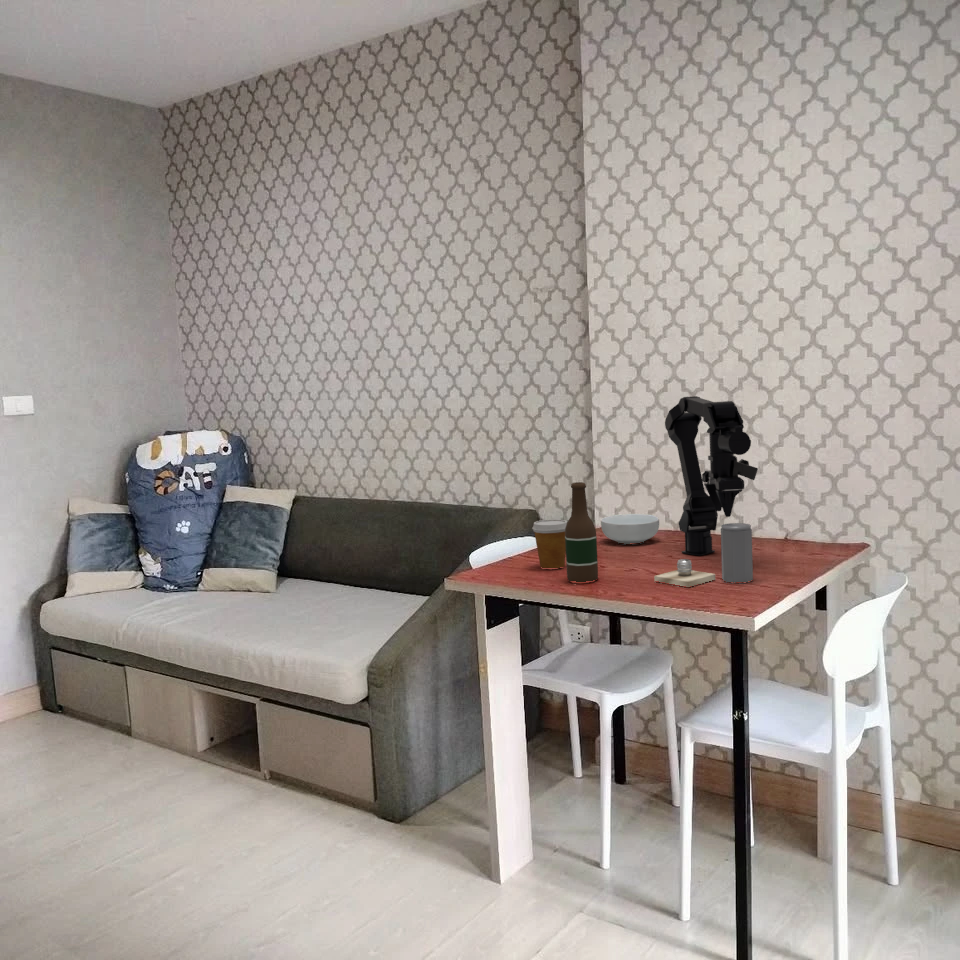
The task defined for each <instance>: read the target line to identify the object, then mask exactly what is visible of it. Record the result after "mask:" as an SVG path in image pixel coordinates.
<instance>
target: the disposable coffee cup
mask: <svg viewBox="0 0 960 960" xmlns="http://www.w3.org/2000/svg"><path fill="white" fill-rule="evenodd" d="M567 522H568V520H566V519H565V520H564V519H542V520H537V521H534V522H533V526H532V530H533V533H534V539H535V542H536V543H535V544H536V549H537V554H538V561H539V566H540V567H542V568H560V567H564V566H565V565H566V546H565V528H566V525H567ZM564 568H565V567H564Z"/></svg>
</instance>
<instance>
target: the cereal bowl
mask: <svg viewBox="0 0 960 960" xmlns="http://www.w3.org/2000/svg"><path fill="white" fill-rule="evenodd" d="M600 526H601V530H602V531H601V532H602V533H603V534H604V536H605V537H606V538H608V539H609V540H612V541H615V542H616V543H617V542H618V543H617V544H619V543H624V544H623V545H626V544H630V543H640V542H643V543H645V542H644V541H647V540H650V539H652V538H653V537H654V536H656V534H657V533H658V532H659V529H660V518H659V517H658V516H657V515H653V514H648V513H624V514H623V513H622V514H614V515H610V516H605V517H602V518H601V519H600ZM640 544H641V543H640Z"/></svg>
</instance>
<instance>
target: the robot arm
mask: <svg viewBox="0 0 960 960" xmlns="http://www.w3.org/2000/svg"><path fill="white" fill-rule="evenodd" d="M702 417H703V421H704V423H705V424H706V425H707V426H708V428H707V429H706V433H708V434H709V455H708V456H707V460H708V461H709V463H710V465H709V466H710V467H709V468H710V470H705V471H704V472H703V473H702V471H701V466H700V463H699V456H698V453H697V451H698V450H697V448H696V447H697V446H696V443H695V440H696V437H697V436H698V433H699V425H700V423H701V421H702ZM664 427H665V430H666V431H667V434H668V437H669V440H671V442H673V443H674V445H675V446H676V448H677V453H678V456H679V457H678V458H679V464H680V467H681V473H682V479H683V482H684V487H685V493H686V498H685V500H684V503H683V505H682V510H683V512H682V514H681V517H680V519H679V521H678V528H679V531H681V532H683V533H684V542H685V543H684V545H685V546H684V548H685V550H682V551H681V554H686V555H691V556H692V555H693V556H698V557H700V556H705V555H709V554H712V553H716V552H715V551H716V550H715V549H713V536H712V531H716V529H717V525H718V519H719V518H718V516H719V514H718V512H721V511H723V514H724V516H725V517H726V518H728V517H729V518H730V517H732V516H731V515H732V511H733V507H734V504H735V499H736V496H737V495H739V494H740V493H742V492H743V490H745V480H744V479H743V478H742V477H744V478H746V479H749V480H751V481H755V479H756V476H757V473H758V469H759V468H758V467H755V466H753V465H750V462H749V460H746V459H743V458H741V459H740V460H739V461H738V458H737V456H742V455H745V454H746V453H747V452H749V450H750V449H751V446H752V444H751V443H752V440H751V438H750V436H749V434H748V433H747V432H745V431H744V430H743V429H744V428H745V426H744V419H743V418H742V416H741V414H740V412H739V409H738V406H737V405H736V404H735V402H734V401H733V400H728V401H727V400H726V401H725V400H723V401H712V400H709V399H704V398H701V397H700V396H697V395H694V396H683V397H681V398H680V399H679V401H678V403H677V404H676V405H675V406H673V407H672V408H671V409H670V410H668V413H667V415H666V417H665V420H664ZM736 455H737V456H736ZM740 476H741V477H740ZM705 489H706V491H705ZM706 492H707V493H708V494H707V493H706Z"/></svg>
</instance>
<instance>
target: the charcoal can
mask: <svg viewBox="0 0 960 960" xmlns="http://www.w3.org/2000/svg"><path fill="white" fill-rule="evenodd" d="M720 526H721V528H720V547H721V548H720V549H721V552H720V553H721V580H722V579H723V580H724V581H726V582H725V583H727V582H733V583H734V582H735V583H736V582H748V581H751V580H754V573H753V571H754V570H753V569H754V568H753V536H752V535H753V534H752V533H753V532H752V531H753V529H752V525H751V524H749V523H746V522H745V523H743V522H742V523H741V522H730V523H723V524H721V525H720ZM723 580H722V581H723ZM724 581H723V582H724ZM733 583H732V584H733ZM748 583H749V582H748Z"/></svg>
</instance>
